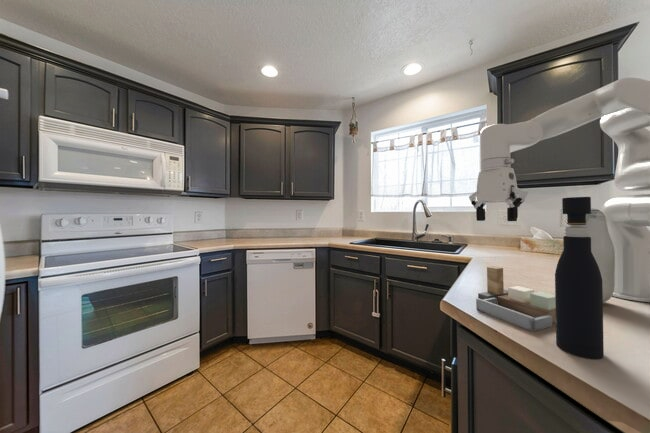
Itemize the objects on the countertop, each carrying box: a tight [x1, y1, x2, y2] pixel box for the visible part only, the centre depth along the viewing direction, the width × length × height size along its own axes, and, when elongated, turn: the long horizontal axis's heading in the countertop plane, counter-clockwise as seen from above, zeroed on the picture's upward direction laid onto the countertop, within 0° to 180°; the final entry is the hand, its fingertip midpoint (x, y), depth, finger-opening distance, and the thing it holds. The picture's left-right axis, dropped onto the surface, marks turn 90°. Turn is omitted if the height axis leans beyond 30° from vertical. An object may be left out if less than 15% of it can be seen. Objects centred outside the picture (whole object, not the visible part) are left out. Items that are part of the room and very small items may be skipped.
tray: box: [475, 297, 553, 332], centre depth 63 cm, size 7×14×3 cm, turn 19°
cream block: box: [507, 285, 535, 303], centre depth 67 cm, size 4×4×3 cm
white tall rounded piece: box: [562, 207, 615, 303], centre depth 72 cm, size 10×10×28 cm
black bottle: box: [554, 196, 605, 360], centre depth 47 cm, size 6×6×30 cm
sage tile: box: [530, 291, 556, 310], centre depth 62 cm, size 4×4×3 cm
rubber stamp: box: [477, 265, 508, 302], centre depth 76 cm, size 11×3×10 cm, turn 108°
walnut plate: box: [497, 295, 556, 324], centre depth 66 cm, size 12×12×3 cm
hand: (495, 220), depth 75 cm, fingers open, 9 cm apart
